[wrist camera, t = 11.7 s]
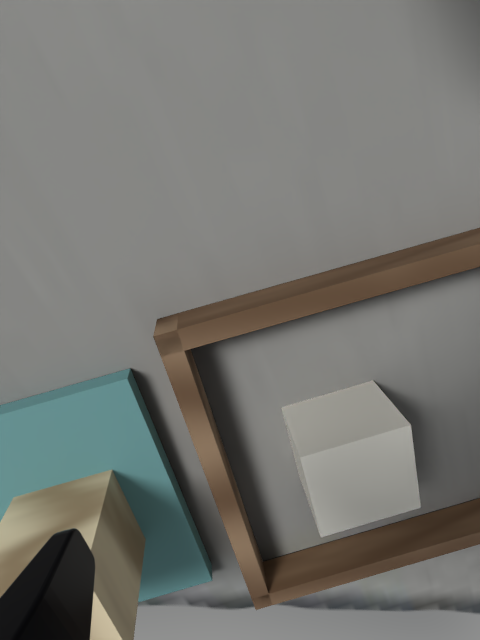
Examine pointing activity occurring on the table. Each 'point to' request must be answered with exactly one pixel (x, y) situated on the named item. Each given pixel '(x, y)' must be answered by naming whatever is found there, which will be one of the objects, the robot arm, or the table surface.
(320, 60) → the table surface
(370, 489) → the plain short box
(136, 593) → the labelled birch box
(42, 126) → the table surface
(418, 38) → the table surface
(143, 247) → the table surface
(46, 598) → the robot arm
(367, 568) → the walnut tray
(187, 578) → the slate-teal mat
